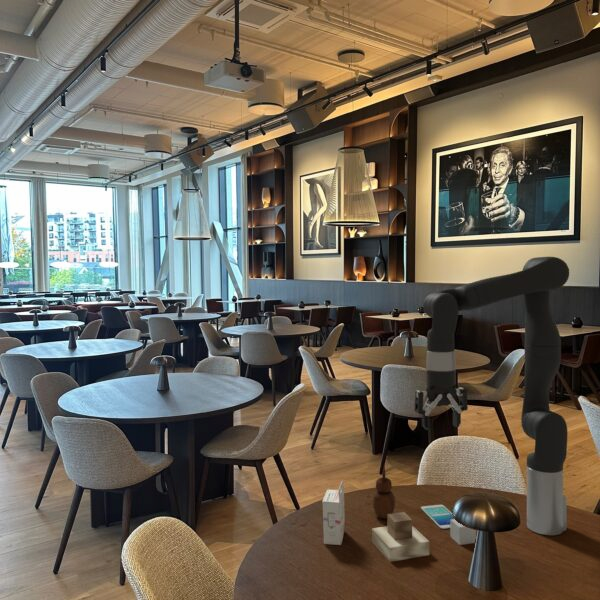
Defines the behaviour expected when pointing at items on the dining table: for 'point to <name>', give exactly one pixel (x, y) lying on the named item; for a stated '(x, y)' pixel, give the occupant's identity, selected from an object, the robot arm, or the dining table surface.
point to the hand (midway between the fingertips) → (441, 427)
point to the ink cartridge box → (333, 516)
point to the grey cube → (461, 533)
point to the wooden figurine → (383, 497)
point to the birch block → (400, 544)
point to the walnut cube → (399, 526)
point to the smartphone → (439, 515)
